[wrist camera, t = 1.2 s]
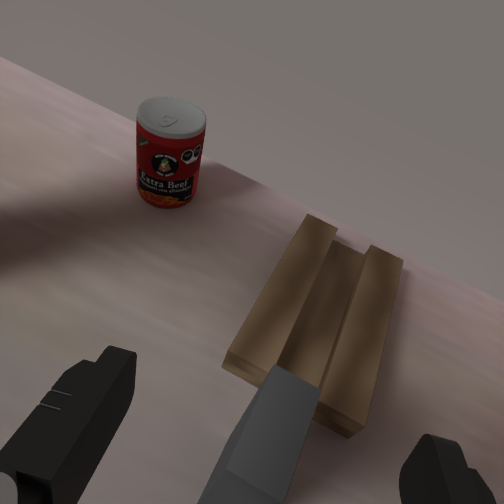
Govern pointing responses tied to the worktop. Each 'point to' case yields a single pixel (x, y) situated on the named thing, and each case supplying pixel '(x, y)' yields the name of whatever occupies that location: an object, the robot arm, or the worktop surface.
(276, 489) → the grey rectangular block
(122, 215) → the worktop surface
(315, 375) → the brown grooved block
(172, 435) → the worktop surface
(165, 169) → the canned food
